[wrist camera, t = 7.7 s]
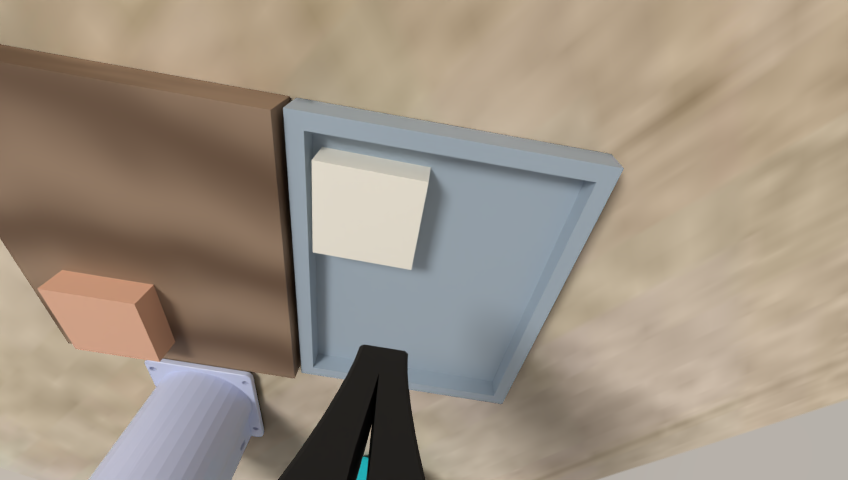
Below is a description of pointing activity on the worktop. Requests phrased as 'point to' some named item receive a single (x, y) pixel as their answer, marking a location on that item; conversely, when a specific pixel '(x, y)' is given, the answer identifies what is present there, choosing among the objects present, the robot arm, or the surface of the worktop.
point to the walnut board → (155, 199)
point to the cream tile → (367, 207)
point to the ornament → (363, 469)
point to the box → (444, 248)
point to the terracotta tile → (109, 315)
